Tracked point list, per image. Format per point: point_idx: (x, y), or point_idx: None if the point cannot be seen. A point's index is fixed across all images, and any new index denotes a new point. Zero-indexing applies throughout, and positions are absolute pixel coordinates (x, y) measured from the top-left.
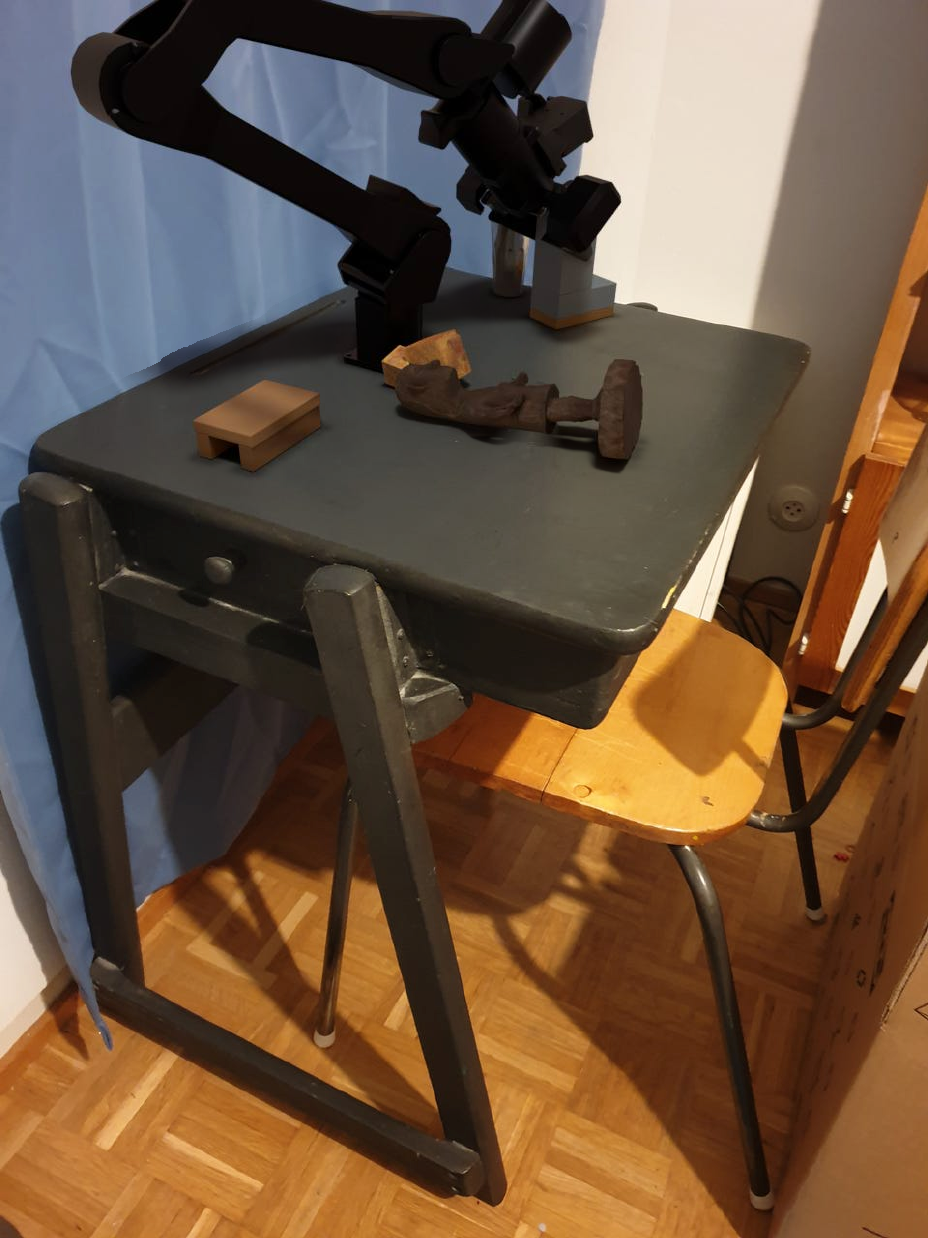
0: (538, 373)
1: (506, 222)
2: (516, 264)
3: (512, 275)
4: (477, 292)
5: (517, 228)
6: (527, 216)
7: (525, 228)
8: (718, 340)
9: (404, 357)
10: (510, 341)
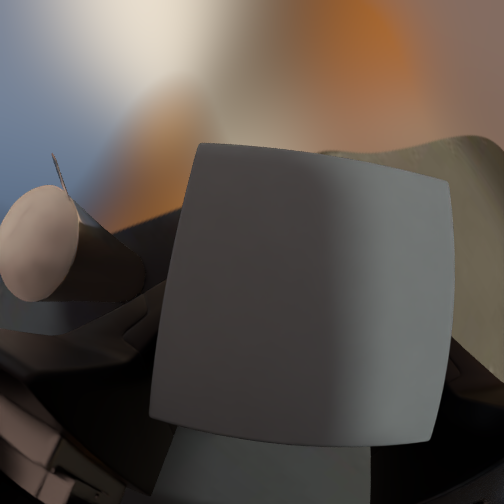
0: None
1: (149, 490)
2: (118, 279)
3: (124, 288)
4: (91, 314)
5: (167, 445)
6: None
7: None
8: (470, 187)
9: None
10: (299, 456)
